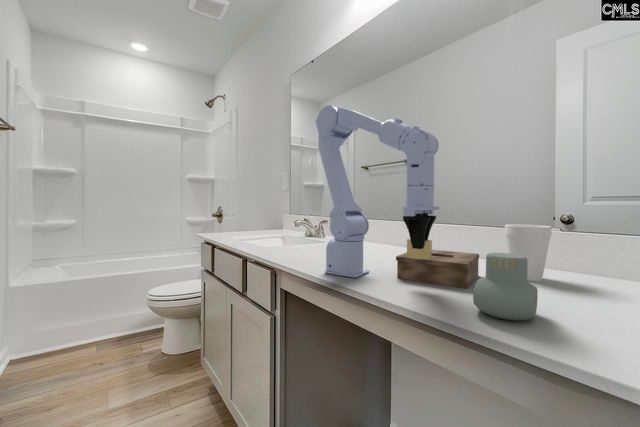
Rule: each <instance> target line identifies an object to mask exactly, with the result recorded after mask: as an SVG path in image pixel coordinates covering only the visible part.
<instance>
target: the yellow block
mask: <svg viewBox="0 0 640 427" xmlns="http://www.w3.org/2000/svg"><path fill="white" fill-rule="evenodd" d="M432 250H433V240H431V239H428V240H425V241H424V246H423V249H415V248H412V244H411V240H410V238H407V239H406V252H407V257H410V258H420V259H429V260H430V259H432Z"/></svg>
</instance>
